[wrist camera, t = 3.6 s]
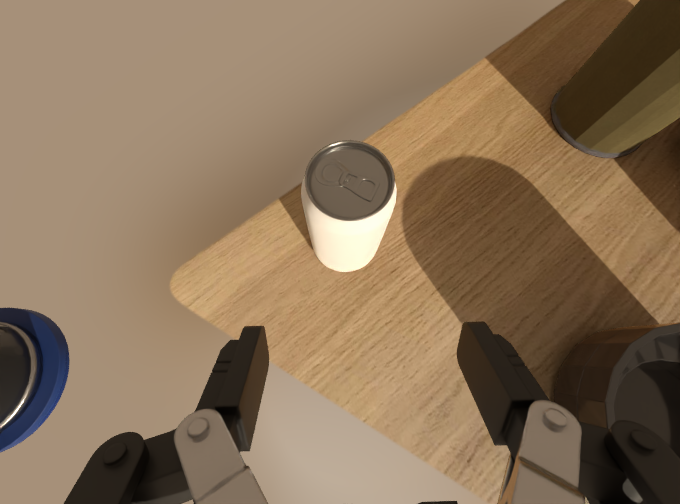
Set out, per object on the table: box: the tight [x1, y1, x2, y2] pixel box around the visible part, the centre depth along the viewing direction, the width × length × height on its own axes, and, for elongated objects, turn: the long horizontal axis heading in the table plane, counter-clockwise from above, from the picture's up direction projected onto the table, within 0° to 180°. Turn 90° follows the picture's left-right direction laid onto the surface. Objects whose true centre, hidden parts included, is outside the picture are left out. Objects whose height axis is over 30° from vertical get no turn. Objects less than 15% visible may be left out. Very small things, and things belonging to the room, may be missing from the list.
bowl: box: [554, 323, 680, 458], centre depth 24 cm, size 15×15×6 cm
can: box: [301, 140, 397, 272], centre depth 25 cm, size 6×6×12 cm
